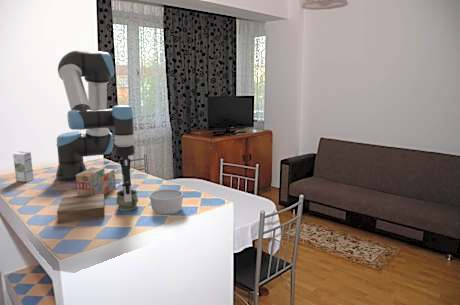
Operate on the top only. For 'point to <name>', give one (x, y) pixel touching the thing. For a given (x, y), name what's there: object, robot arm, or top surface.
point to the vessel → (126, 205)
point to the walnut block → (81, 208)
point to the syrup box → (23, 166)
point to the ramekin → (166, 201)
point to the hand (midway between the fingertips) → (127, 196)
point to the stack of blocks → (95, 181)
